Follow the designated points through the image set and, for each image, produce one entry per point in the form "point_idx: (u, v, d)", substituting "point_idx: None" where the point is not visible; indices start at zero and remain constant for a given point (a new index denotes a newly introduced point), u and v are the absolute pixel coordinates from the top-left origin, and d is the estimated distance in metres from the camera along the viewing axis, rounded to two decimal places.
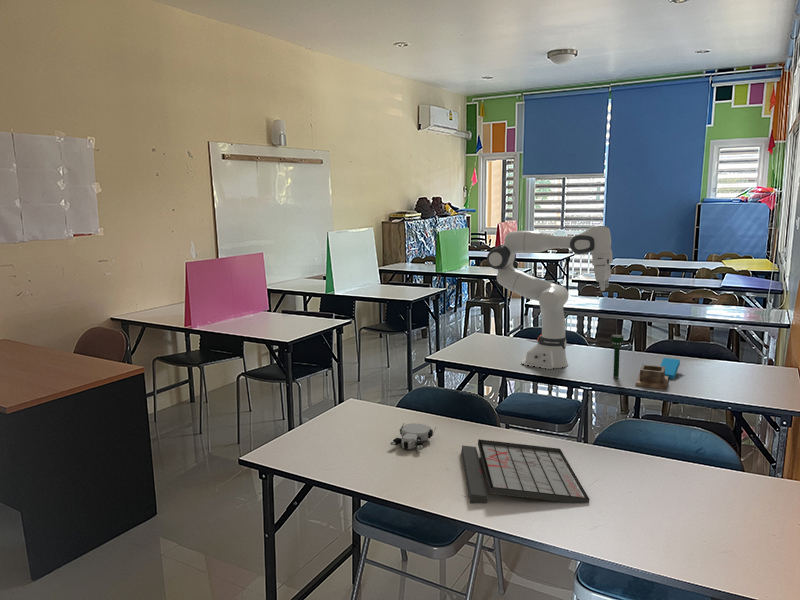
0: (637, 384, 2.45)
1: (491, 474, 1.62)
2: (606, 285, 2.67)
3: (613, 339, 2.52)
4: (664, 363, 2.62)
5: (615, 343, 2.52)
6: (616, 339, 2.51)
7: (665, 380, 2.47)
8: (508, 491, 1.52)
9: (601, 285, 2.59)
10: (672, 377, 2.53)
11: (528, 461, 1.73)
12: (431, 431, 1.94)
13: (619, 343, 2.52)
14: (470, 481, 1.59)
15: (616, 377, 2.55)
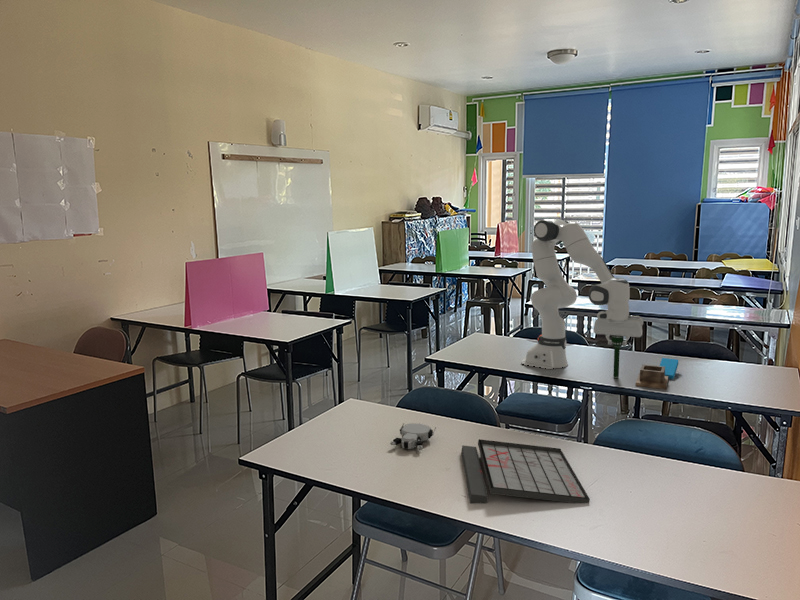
0: (637, 384, 2.45)
1: (491, 474, 1.62)
2: None
3: (613, 339, 2.52)
4: (663, 363, 2.62)
5: (615, 343, 2.52)
6: (616, 339, 2.51)
7: (665, 380, 2.47)
8: (508, 491, 1.52)
9: None
10: (672, 377, 2.53)
11: (528, 461, 1.73)
12: (431, 431, 1.94)
13: (619, 343, 2.52)
14: (470, 481, 1.59)
15: (616, 377, 2.55)
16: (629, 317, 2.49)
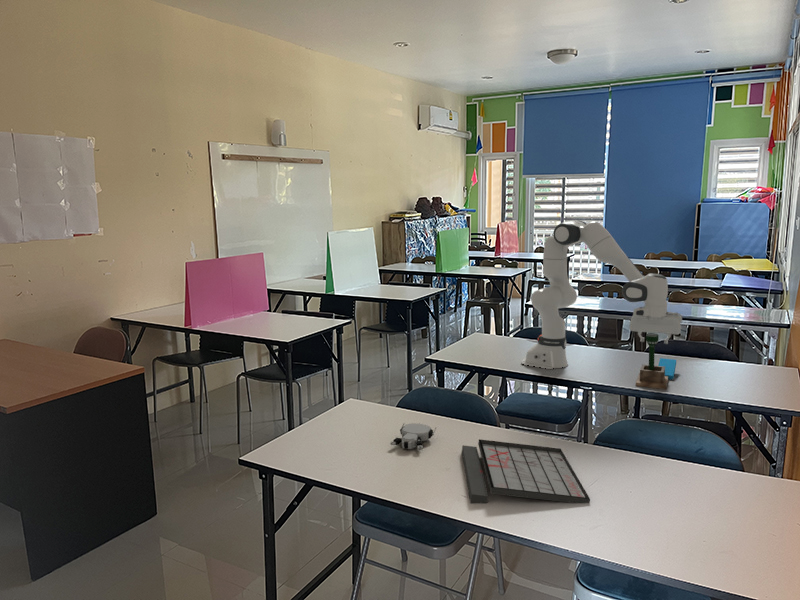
0: (637, 384, 2.45)
1: (492, 474, 1.62)
2: (664, 340, 2.44)
3: (648, 338, 2.46)
4: (661, 363, 2.62)
5: (650, 342, 2.46)
6: (651, 338, 2.45)
7: (665, 380, 2.47)
8: (509, 491, 1.52)
9: (639, 335, 2.49)
10: (671, 378, 2.52)
11: (529, 461, 1.73)
12: (431, 431, 1.93)
13: (654, 342, 2.45)
14: (471, 481, 1.59)
15: None
16: (667, 314, 2.42)
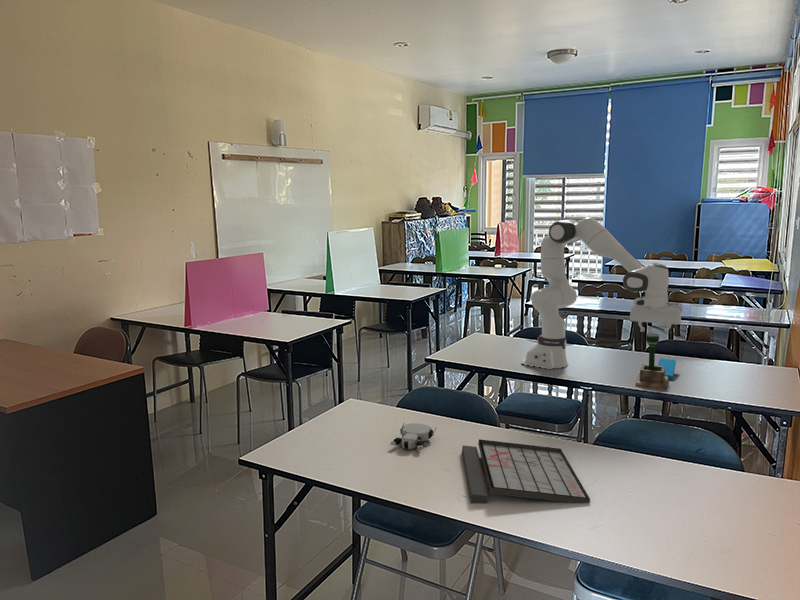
0: (637, 384, 2.45)
1: (492, 474, 1.62)
2: (664, 330, 2.44)
3: (648, 339, 2.45)
4: (661, 364, 2.62)
5: (650, 343, 2.45)
6: (651, 339, 2.44)
7: (665, 380, 2.47)
8: (509, 491, 1.52)
9: None
10: (671, 378, 2.52)
11: (529, 461, 1.73)
12: (431, 431, 1.93)
13: (655, 343, 2.44)
14: (471, 481, 1.59)
15: None
16: (668, 304, 2.41)
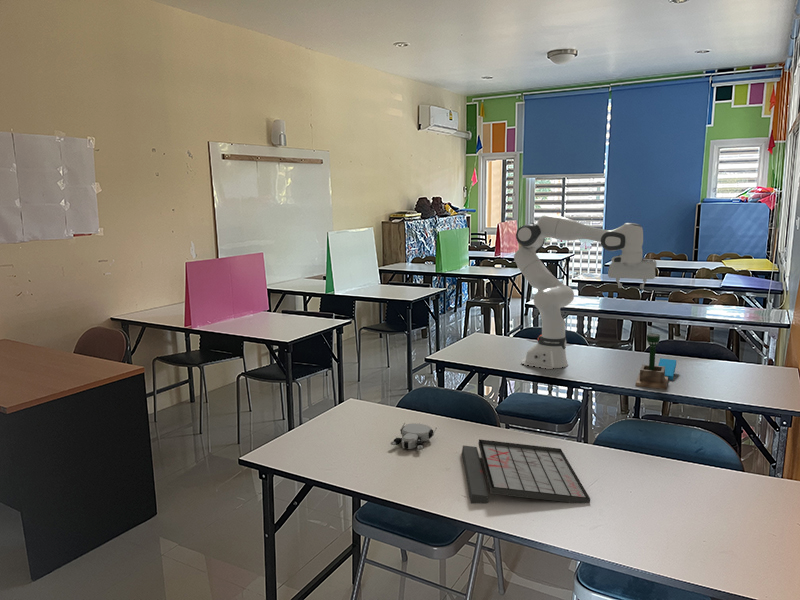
0: (637, 384, 2.45)
1: (492, 474, 1.62)
2: (640, 285, 2.61)
3: (649, 338, 2.45)
4: (661, 364, 2.61)
5: (651, 343, 2.45)
6: (652, 338, 2.44)
7: (665, 380, 2.47)
8: (509, 491, 1.52)
9: (617, 282, 2.66)
10: (671, 378, 2.52)
11: (529, 461, 1.73)
12: (432, 431, 1.93)
13: (655, 343, 2.45)
14: (471, 481, 1.59)
15: None
16: (642, 260, 2.59)
